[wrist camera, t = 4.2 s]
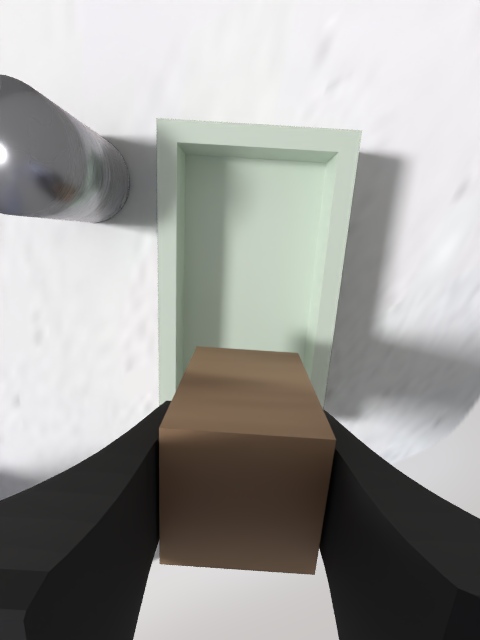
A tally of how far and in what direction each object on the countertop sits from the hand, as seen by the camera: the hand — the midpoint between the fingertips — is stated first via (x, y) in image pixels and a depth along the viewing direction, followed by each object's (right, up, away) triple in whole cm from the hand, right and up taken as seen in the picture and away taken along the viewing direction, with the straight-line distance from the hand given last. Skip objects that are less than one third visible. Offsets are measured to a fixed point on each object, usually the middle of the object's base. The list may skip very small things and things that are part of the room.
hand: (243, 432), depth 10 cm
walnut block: (0, +1, +2) cm, 3 cm away
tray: (0, +5, +6) cm, 8 cm away
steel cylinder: (-7, +10, +5) cm, 14 cm away
